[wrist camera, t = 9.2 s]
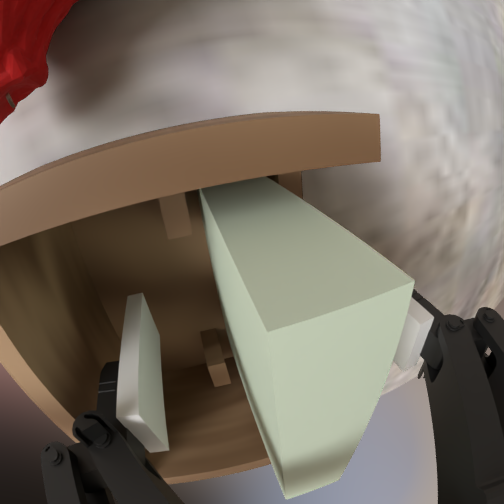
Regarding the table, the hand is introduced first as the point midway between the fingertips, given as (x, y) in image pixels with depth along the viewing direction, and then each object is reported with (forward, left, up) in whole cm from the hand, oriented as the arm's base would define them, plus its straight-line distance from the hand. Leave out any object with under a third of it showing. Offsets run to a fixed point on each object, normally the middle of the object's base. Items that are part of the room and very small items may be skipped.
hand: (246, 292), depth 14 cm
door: (0, 0, -2) cm, 2 cm away
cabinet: (0, -3, -3) cm, 5 cm away
